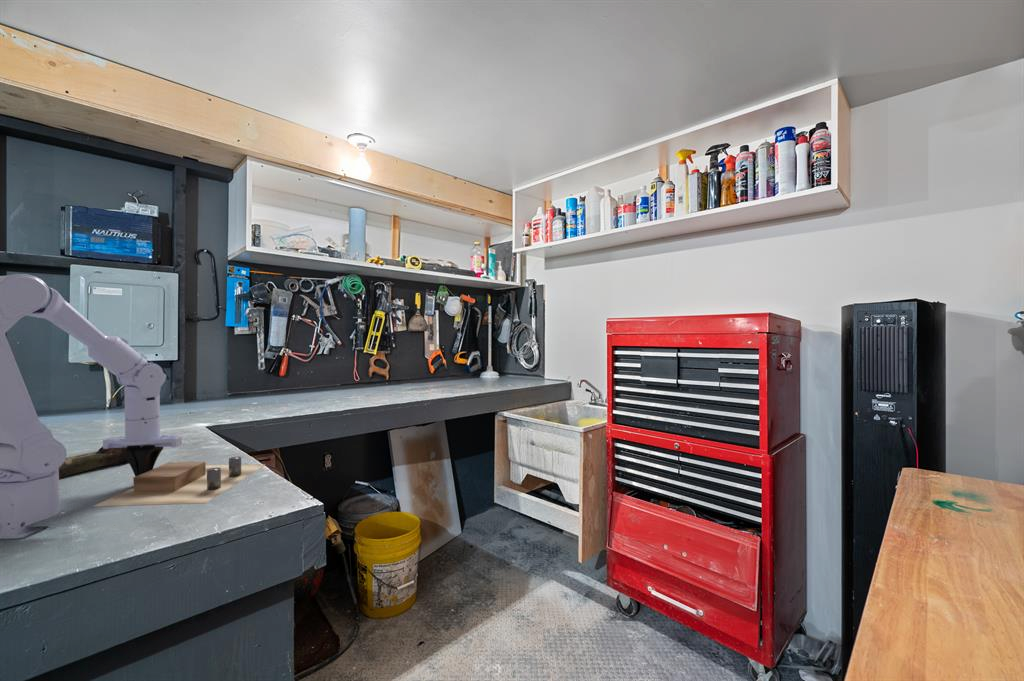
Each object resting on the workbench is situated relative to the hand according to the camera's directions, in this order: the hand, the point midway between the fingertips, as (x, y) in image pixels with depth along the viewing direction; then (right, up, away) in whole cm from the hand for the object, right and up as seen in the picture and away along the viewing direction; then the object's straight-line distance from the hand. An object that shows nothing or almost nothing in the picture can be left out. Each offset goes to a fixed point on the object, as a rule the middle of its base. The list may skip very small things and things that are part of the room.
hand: (143, 480), depth 92 cm
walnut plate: (+6, -1, 0) cm, 6 cm away
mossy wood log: (-25, -2, +15) cm, 29 cm away
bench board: (+10, -2, +1) cm, 10 cm away
